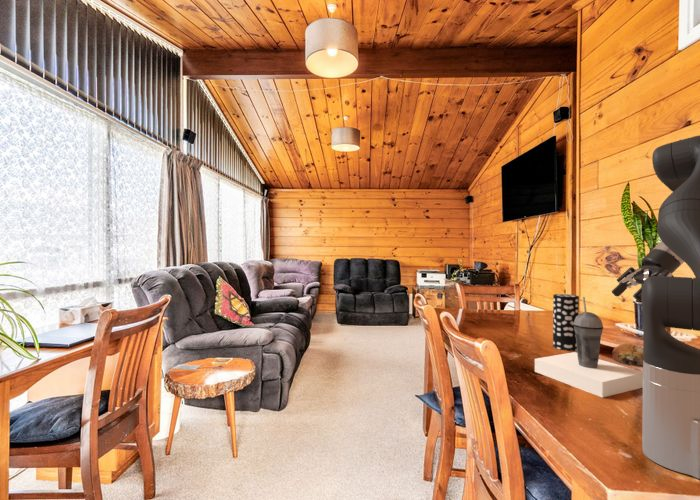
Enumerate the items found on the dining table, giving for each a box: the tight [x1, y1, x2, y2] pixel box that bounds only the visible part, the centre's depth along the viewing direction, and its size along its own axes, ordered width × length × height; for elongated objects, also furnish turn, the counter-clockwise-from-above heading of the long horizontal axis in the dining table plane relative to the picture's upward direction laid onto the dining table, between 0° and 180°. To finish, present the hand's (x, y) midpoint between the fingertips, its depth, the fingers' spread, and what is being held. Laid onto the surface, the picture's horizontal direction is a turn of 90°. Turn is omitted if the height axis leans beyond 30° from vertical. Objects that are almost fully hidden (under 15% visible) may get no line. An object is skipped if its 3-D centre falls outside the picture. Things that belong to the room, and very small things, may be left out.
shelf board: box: [534, 351, 643, 399], centre depth 101 cm, size 20×18×4 cm
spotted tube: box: [552, 293, 580, 352], centre depth 133 cm, size 8×8×20 cm
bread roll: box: [611, 342, 643, 367], centre depth 117 cm, size 10×10×8 cm
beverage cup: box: [573, 296, 604, 368], centre depth 101 cm, size 7×7×20 cm
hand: (624, 296), depth 101 cm, fingers open, 8 cm apart
